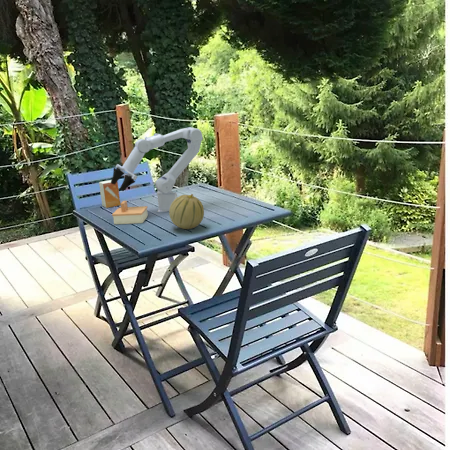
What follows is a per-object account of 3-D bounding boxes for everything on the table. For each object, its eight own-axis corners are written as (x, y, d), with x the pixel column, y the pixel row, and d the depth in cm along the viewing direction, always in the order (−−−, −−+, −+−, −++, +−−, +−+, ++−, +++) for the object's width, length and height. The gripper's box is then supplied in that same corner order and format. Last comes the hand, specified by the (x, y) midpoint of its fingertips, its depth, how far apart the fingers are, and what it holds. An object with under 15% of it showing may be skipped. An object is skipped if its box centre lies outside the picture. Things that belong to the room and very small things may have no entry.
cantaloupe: (169, 225, 205) (165, 192, 200) (201, 221, 208) (199, 188, 203) (173, 235, 191) (169, 200, 186) (208, 231, 194) (205, 196, 189)
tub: (147, 217, 219) (146, 207, 218) (142, 224, 209) (141, 214, 208) (121, 218, 220) (119, 209, 219) (114, 225, 210) (113, 215, 209)
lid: (147, 209, 218) (146, 197, 217) (142, 216, 207) (140, 204, 206) (119, 210, 220) (118, 199, 218) (112, 217, 209) (110, 205, 207)
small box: (106, 208, 240) (102, 183, 236) (102, 206, 245) (98, 181, 241) (121, 205, 244) (117, 181, 240) (116, 203, 249) (113, 179, 245)
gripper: (117, 153, 217) (102, 177, 217) (135, 164, 209) (119, 189, 209) (127, 159, 223) (113, 183, 223) (145, 170, 214) (130, 195, 215)
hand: (116, 186), depth 216 cm, fingers open, 7 cm apart
